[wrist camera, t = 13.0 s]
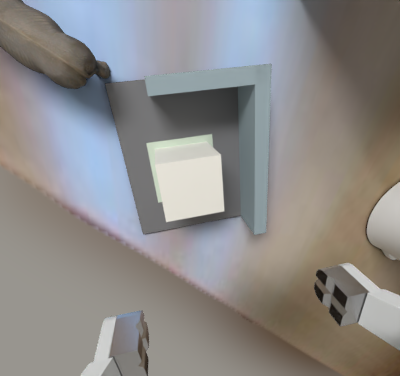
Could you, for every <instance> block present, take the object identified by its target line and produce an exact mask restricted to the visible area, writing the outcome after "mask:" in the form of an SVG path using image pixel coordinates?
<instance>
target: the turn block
mask: <svg viewBox="0 0 400 376" xmlns="http://www.w3.org/2000/svg"><path fill="white" fill-rule="evenodd" d="M155 168H156V173H157V178H158V183H159V188H160V193H161V198H162V204H163V209H164V214H165V219H166V222H170V221H175V220H180V219H186V218H191V217H196V216H202V215H207V214H212V213H218V212H223V211H224V196H223V180H222V164H221V154H220V153H219V152H218V151H216V150H215V149H214V148H213V147H212V146H211V145H210V144H209V143H208V142H207V141H206V142H200V143H193V144H186V145H179V146H172V147H165V148H158V149H155Z"/></svg>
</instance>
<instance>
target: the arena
mask: <svg viewBox="0 0 400 376" xmlns="http://www.w3.org/2000/svg"><path fill="white" fill-rule="evenodd" d="M271 68H272V64H264V65H254V66H243V67H233V68H223V69H213V70H203V71H193V72H183V73H173V74H163V75H153V76H144V77H145V80H135V81H125V82H116V83H106V84H105V86H106V90H107V94H108V98H109V102H110V106H111V110H112V113H113V117H114V121H115V125H116V129H117V133H118V137H119V141H120V145H121V149H122V153H123V157H124V161H125V165H126V169H127V173H128V176H129V180H130V184H131V188H132V192H133V196H134V200H135V204H136V208H137V212H138V216H139V220H140V224H141V228H142V232H143V234H147V233H152V232H158V231H163V230H168V229H173V228H179V227H184V226H189V225H194V224H199V223H205V222H210V221H215V220H220V219H226V218H231V217H236V216H242V218H243V219H244V221H245V222H246V224H247V225H248V227H249V228H250V229H251V231H252V232H253V234H254V235H256V234H261V233H266V218H267V188H268V158H269V128H270V98H271ZM206 141H207V142H208V143H209V144H210V145H211V146H212V147H213V148H214V149H215V150H216V151H218V152H219V153H220V154H221V164H222V180H223V196H224V211H223V212H218V213H212V214H207V215H202V216H196V217H191V218H186V219H180V220H175V221H170V222H166V219H165V214H164V209H163V204H162V198H161V193H160V188H159V183H158V178H157V173H156V168H155V149H158V148H165V147H172V146H179V145H186V144H193V143H200V142H206Z"/></svg>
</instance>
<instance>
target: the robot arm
mask: <svg viewBox="0 0 400 376" xmlns="http://www.w3.org/2000/svg"><path fill="white" fill-rule="evenodd" d="M367 236H368V239H369V241H370V242H371V244H372V245H374V246H375V247H378V248H380V249H381V250H382V251H383V253H384V255H385V256H386V257H388V258H389V259H391V260H396V259H398V260H399V261H400V182H399V183H397V184H396V185H395V186H393V187H392V188H391V189H390V190H389V191H388V192H387V193H386V194H385V195H384V196H383V197H382V198H381V199H380V200H379V202H378V203H377V205H376V206H375V208H374V209H373V211H372V213H371V215H370V218H369V221H368V225H367ZM316 276H317V278H318V279H317V280H316V282H315V284H314V289H315V293H316V295H317V297H318V299H319V300H320V302H321V303H322V304H324V305H325V306H327V307H329V313H330V314H331V316H332V317H333V318H334V319H335V321H336V322H337V323H338V324H339V326H345V325H349V324H353V323H358V324H360V325H361V326H363V327H364V328H366V329H367V330H369V331H370V332H372V333H373V334H375V335H376V336H378V337H380V338H381V339H383V340H384V341H386V342H387V343H389V344H390V345H392V346H393V347H395V348H396V349H398V350H399V351H400V296H399V295H397V294H395V293H392V292H390V291H387V290H385V289H382V290H381V289H380V288H379V287H377V286H376V285H375V284H374V283H373V282H372V281H370V280H369V279H368V278H367V277H366V276H365V275H364V274H362V273H361V272H360V271H359V270H358V269H357V268H356V267H354V266H353V265H352V264H350V263H344V264H340V265H335V266H331V267H327V268H322V269H318V271H317V272H316ZM148 348H149V333H148V327H147V323H146V322H145V321H144V313H143V311H137V312H132V313H127V314H122V315H117V316H113V317H108V318H105V320H104V321H103V324H102V328H101V333H100V337H99V341H98V345H97V349H96V354H95V358H94V362H92V363H89V365H88V366H87V367H86V368H85V370H84V371H83V372H82V374H81V375H80V376H148V356H147V353H146V351H147V349H148Z"/></svg>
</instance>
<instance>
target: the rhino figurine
mask: <svg viewBox="0 0 400 376" xmlns="http://www.w3.org/2000/svg"><path fill="white" fill-rule="evenodd" d="M0 47H2V48H3V49H4V50H5V51H7V52H8V53H9V54H10V55H11V56H12V57H14V58H15V59H16V60H17V61H18V62H20V63H21V64H23V65H24V66H26V67H28V68H29V69H31V70H34V71H36V72H39V73H43V74H46V75H47V76H48V77H49V78H50V79H51V80H53V81H54V82H55V83H57V84H59V85H61V86H63V87H66V88H70V89H78V88H80V87H82V86H84V85H85V84H86V78H90V77H91V76H92V75H93V74H97V75H99V76H100V77H102V78H108V77H109V75H110V71H109V67H108V65H107V64H106V63H105V62H100V61H96V59H95V57H94V55H93V54H92V52H91V51H90V49H89V48H88V47H87V46H86V45H85V44H84V43H82V42H80V41H79V40H77V39H75V38H73V37H71V36H68V35H66V34H65V33H64V32H63V31H62V29H61V28H60V27H59V26H58V24H57V23H56V22H55V21H54V20H52V19H51V18H50V17H49V16H47V15H46V14H44V13H42V12H40V11H38V10H36V9H34V8H32V7H29V6H28V5H26V4H24V2H23V1H22V0H0Z"/></svg>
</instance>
